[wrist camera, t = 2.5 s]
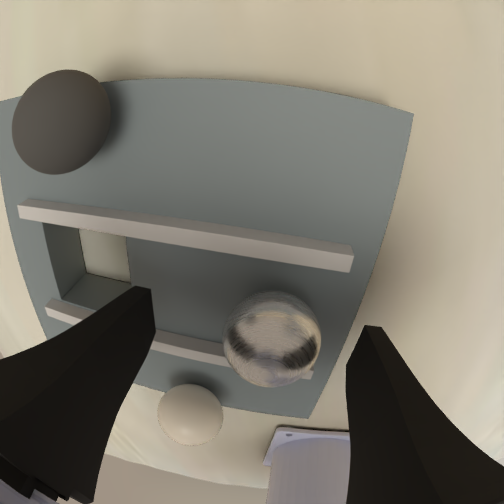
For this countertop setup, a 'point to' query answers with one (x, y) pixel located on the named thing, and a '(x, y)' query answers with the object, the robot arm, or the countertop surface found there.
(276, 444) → the robot arm
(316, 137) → the grey board with rails
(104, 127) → the dark gray ball
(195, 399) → the cream ball
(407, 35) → the countertop surface
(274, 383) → the steel ball
